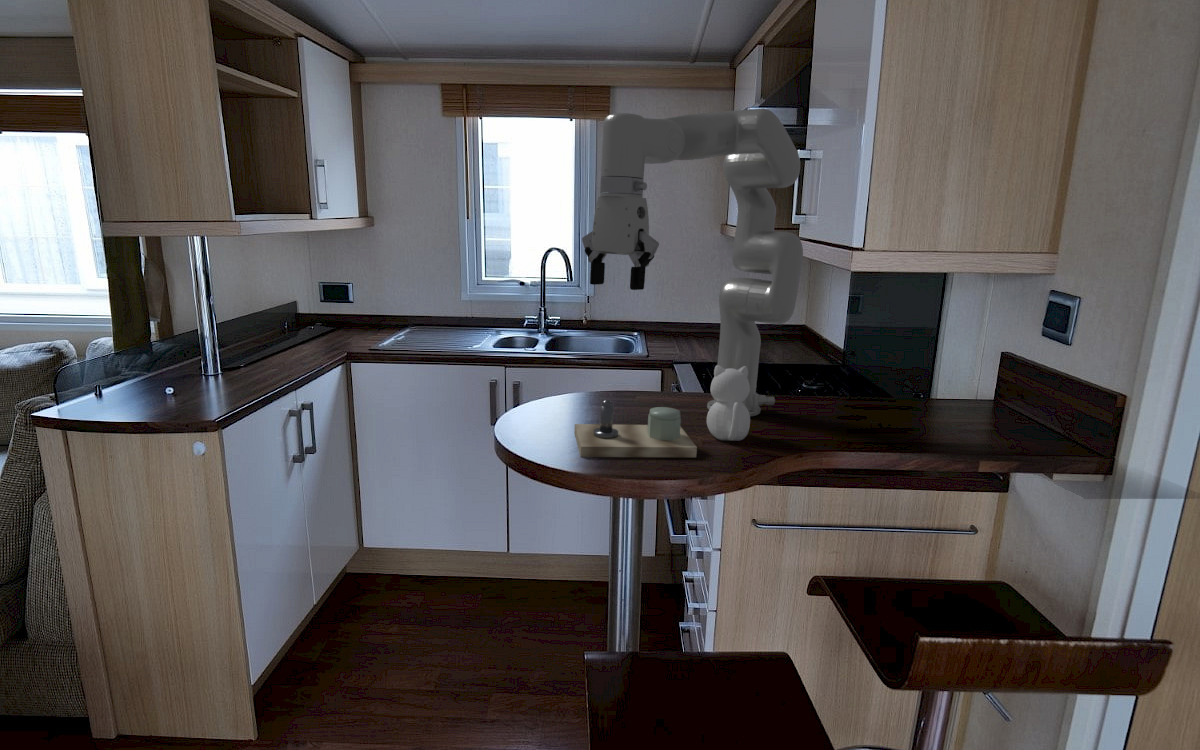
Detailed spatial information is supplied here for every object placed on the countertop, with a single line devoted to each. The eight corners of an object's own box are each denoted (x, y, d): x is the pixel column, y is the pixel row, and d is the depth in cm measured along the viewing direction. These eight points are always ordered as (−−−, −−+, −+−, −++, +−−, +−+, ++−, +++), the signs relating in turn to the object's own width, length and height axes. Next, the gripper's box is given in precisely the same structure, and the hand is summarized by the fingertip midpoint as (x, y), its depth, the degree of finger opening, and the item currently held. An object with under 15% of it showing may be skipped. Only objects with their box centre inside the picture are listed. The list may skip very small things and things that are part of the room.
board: (678, 434, 139) (679, 425, 138) (696, 457, 125) (697, 447, 125) (574, 433, 136) (574, 424, 136) (580, 456, 123) (581, 446, 122)
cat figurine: (740, 429, 145) (746, 362, 142) (758, 447, 132) (766, 374, 129) (699, 429, 144) (705, 361, 141) (714, 447, 132) (721, 373, 129)
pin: (616, 431, 132) (618, 396, 131) (619, 439, 128) (621, 402, 126) (592, 431, 132) (593, 396, 130) (594, 438, 127) (596, 402, 125)
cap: (674, 430, 134) (676, 407, 133) (681, 440, 129) (683, 415, 127) (645, 430, 134) (647, 406, 133) (651, 440, 128) (653, 415, 127)
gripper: (673, 190, 114) (666, 290, 117) (600, 190, 125) (595, 281, 129) (646, 187, 108) (639, 292, 112) (571, 187, 120) (568, 283, 123)
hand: (616, 286), depth 120 cm, fingers open, 9 cm apart
